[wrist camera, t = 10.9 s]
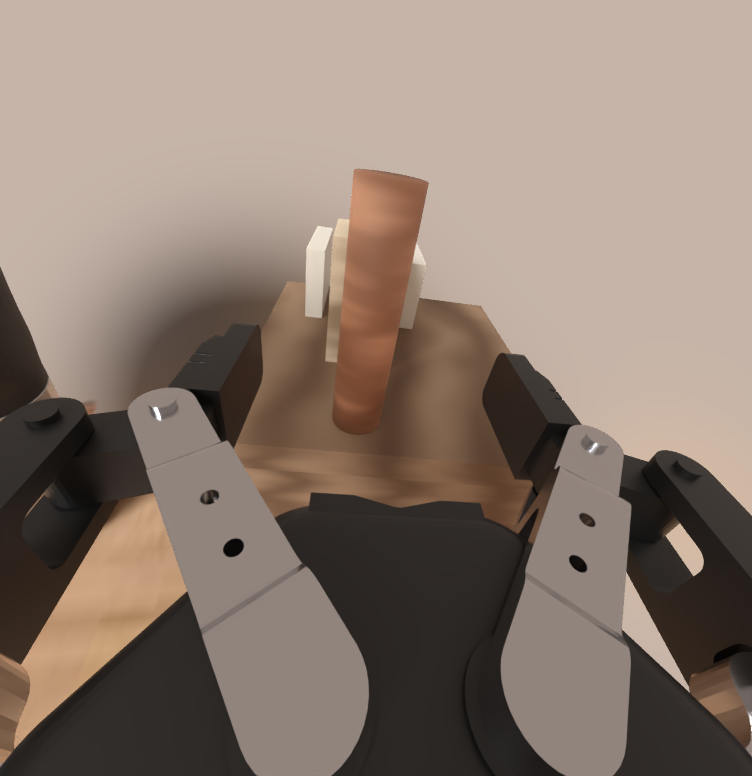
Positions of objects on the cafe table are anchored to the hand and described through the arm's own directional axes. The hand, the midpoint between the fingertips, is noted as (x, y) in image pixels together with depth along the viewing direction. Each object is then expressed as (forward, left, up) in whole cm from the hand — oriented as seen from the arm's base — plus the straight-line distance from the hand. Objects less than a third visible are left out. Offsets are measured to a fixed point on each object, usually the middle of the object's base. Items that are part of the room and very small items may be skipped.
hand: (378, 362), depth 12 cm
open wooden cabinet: (+3, +15, -32) cm, 36 cm away
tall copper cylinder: (0, +11, -8) cm, 14 cm away
